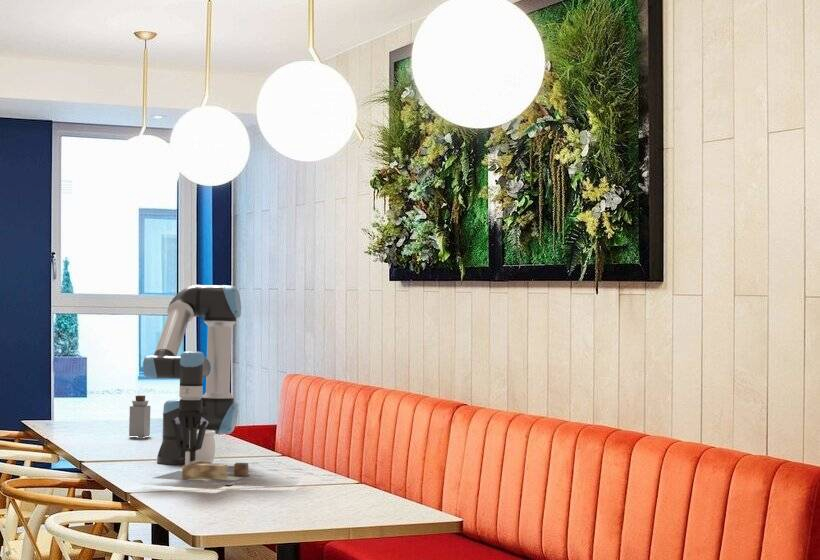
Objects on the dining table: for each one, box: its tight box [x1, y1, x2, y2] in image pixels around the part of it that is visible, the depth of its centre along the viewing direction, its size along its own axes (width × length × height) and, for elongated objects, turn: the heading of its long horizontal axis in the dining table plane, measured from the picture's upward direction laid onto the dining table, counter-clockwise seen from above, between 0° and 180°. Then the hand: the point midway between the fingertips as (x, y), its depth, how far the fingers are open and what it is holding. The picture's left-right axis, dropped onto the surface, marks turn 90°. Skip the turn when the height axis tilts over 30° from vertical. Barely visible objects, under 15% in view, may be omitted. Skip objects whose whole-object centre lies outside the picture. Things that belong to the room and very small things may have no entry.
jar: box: [188, 429, 216, 464], centre depth 378 cm, size 11×10×15 cm
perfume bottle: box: [128, 394, 151, 437], centre depth 484 cm, size 7×7×18 cm
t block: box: [181, 461, 228, 479], centre depth 363 cm, size 12×12×4 cm
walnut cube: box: [233, 462, 249, 478], centre depth 367 cm, size 4×4×4 cm
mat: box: [153, 470, 253, 488], centre depth 363 cm, size 27×18×1 cm, turn 74°
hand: (188, 471), depth 364 cm, fingers closed
